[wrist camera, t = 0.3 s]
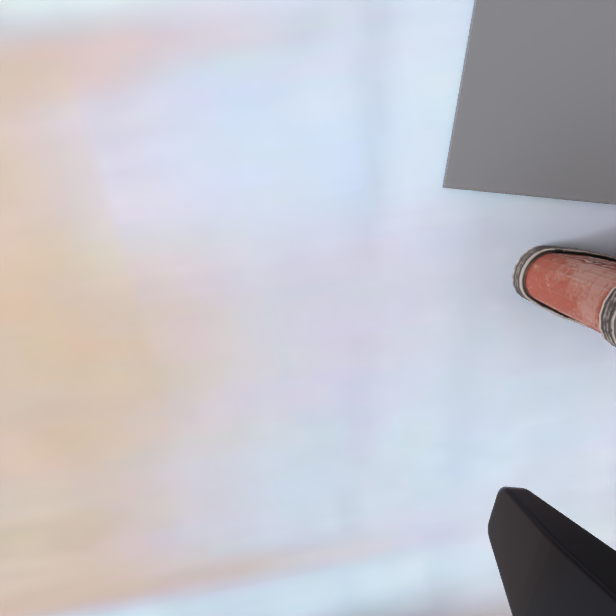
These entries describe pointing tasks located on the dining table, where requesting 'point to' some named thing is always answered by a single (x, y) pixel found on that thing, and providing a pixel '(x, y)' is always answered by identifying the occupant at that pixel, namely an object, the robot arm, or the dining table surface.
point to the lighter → (571, 285)
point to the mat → (538, 101)
